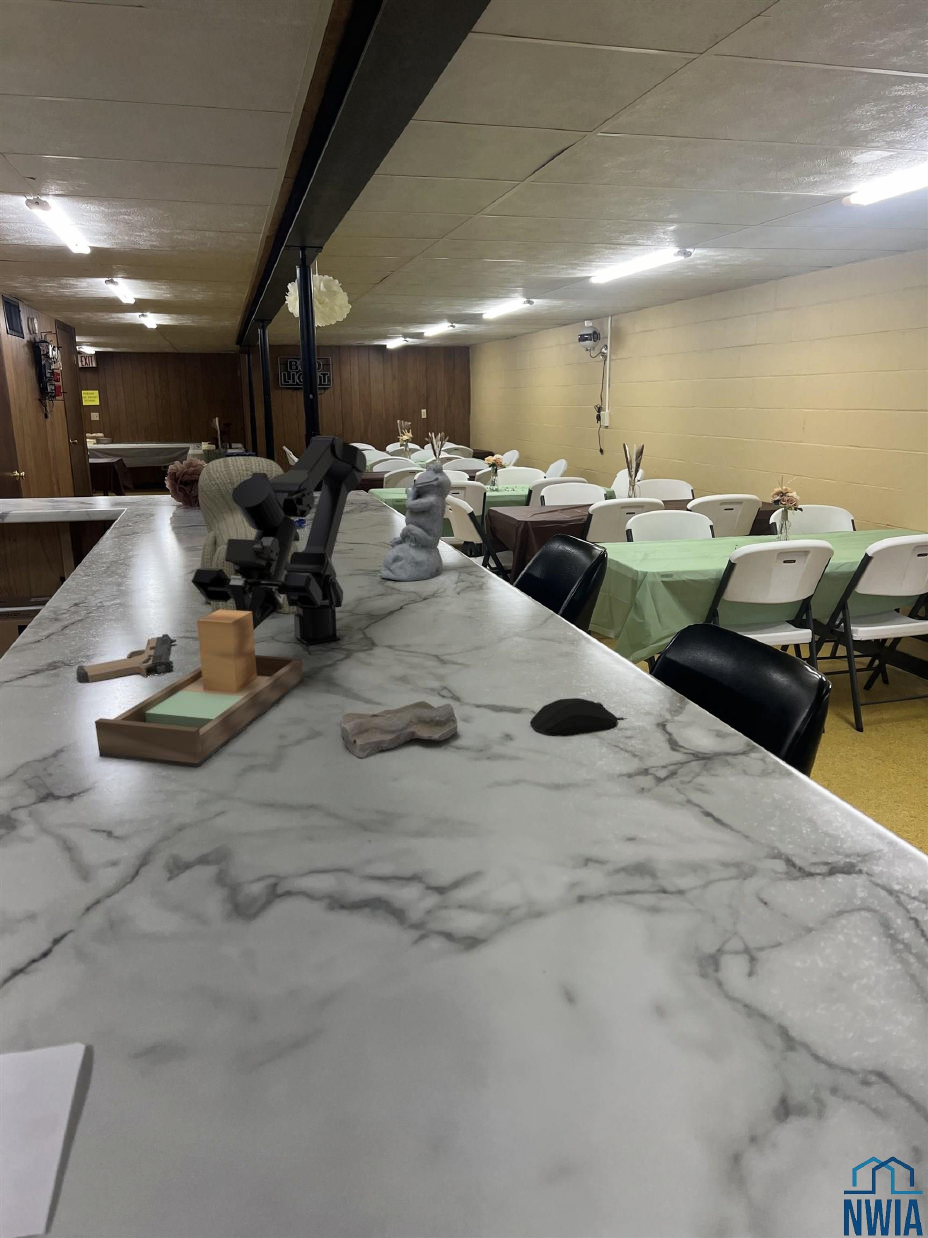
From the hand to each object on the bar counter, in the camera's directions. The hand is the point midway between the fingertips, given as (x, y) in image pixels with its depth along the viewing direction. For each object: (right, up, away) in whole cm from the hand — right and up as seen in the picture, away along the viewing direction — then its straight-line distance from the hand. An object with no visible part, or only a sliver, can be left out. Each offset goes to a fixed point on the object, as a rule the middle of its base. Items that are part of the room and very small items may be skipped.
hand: (241, 636), depth 111 cm
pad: (-3, -11, -9) cm, 14 cm away
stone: (+24, -13, -13) cm, 30 cm away
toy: (-13, +6, +54) cm, 56 cm away
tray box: (-2, -10, -5) cm, 11 cm away
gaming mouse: (+48, -12, -8) cm, 50 cm away
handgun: (-23, -5, +16) cm, 28 cm away
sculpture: (+20, +14, +81) cm, 85 cm away
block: (-1, -7, -2) cm, 7 cm away
